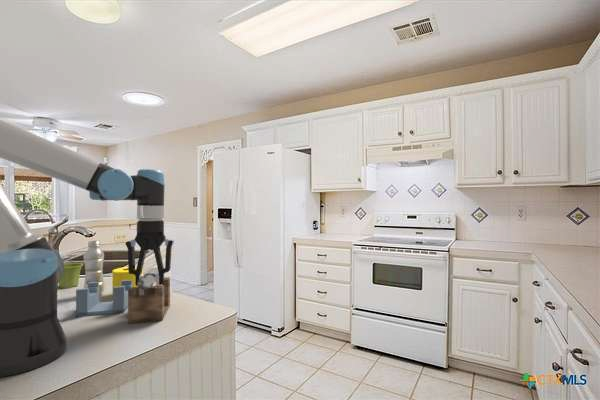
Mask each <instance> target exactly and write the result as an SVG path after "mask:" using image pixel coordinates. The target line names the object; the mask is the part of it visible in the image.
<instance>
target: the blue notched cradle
mask: <svg viewBox="0 0 600 400" xmlns="http://www.w3.org/2000/svg"><path fill="white" fill-rule="evenodd" d="M131 287H132V280H122V286H118V287H113V286H112V301H105V302H104V301H103V302H102V301H101V302H100V294H99V282H89V283H88V288H86V289H84V288H77V289H76V290H75V293H76V294H75V316H76V317H84V316H85V317H86V316H97V315H98V316H99V315H110V314H121V313H125V312H126V311H128V290H129V289H130V288H131Z"/></svg>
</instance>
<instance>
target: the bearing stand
mask: <svg viewBox="0 0 600 400" xmlns="http://www.w3.org/2000/svg"><path fill="white" fill-rule="evenodd" d="M170 306H171V276H170V277H169V276H168V277H165V276H164V283H163V284H162V285H160V286H157V287H156V285H152V286H151V288H149V289H148V290H144V295H139V287H131V288H130V289H129V290H128V308H127V325H129V324H139V323H141V324H142V323H149V322H151V323H153V322H160V321H163V319H165V316H166V314H167V313H168V311H169V309H170Z"/></svg>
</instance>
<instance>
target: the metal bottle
mask: <svg viewBox="0 0 600 400" xmlns="http://www.w3.org/2000/svg"><path fill="white" fill-rule="evenodd" d="M87 247H88V249H86V251H85V252H84V254H83V256H82V257H83V262H84V263H83V264H84V270H85V275H84V276H85V277H84V284H83V289H86V288H88V283H89V282H99V295H101V294H103V293H104V291H105V282H104V275H103V274H104V273H103V272H104V271H103V270H104V269H103V267H104V260H105V253H104V251H103V249H102V248H101V241H100V240H89V241H88V242H87Z"/></svg>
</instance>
